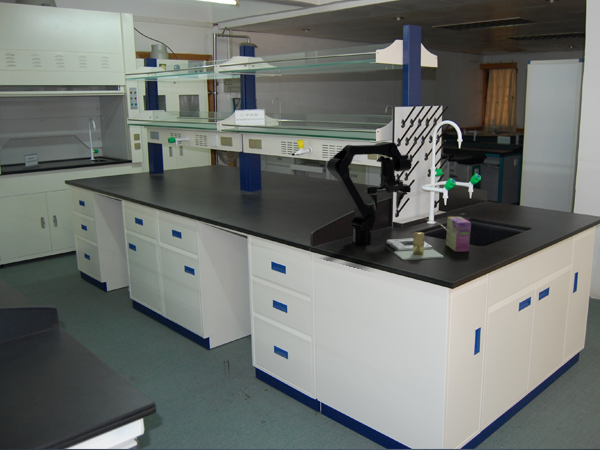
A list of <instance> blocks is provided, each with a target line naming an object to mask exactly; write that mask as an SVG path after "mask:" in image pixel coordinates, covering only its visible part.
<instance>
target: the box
mask: <svg viewBox="0 0 600 450" xmlns="http://www.w3.org/2000/svg"><path fill="white" fill-rule="evenodd" d="M471 227H472V222H470V221H469V220H468V219H466V218H464V217H462V216H447V223H446V239H445V244H446V246H447V247H449V248H450V249H451V250H452V251H454V252H456V253H457V252H458V253H462V252H465V253H466V252H469V251H470V241H471V239H470V238H471V229H472V228H471Z"/></svg>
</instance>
